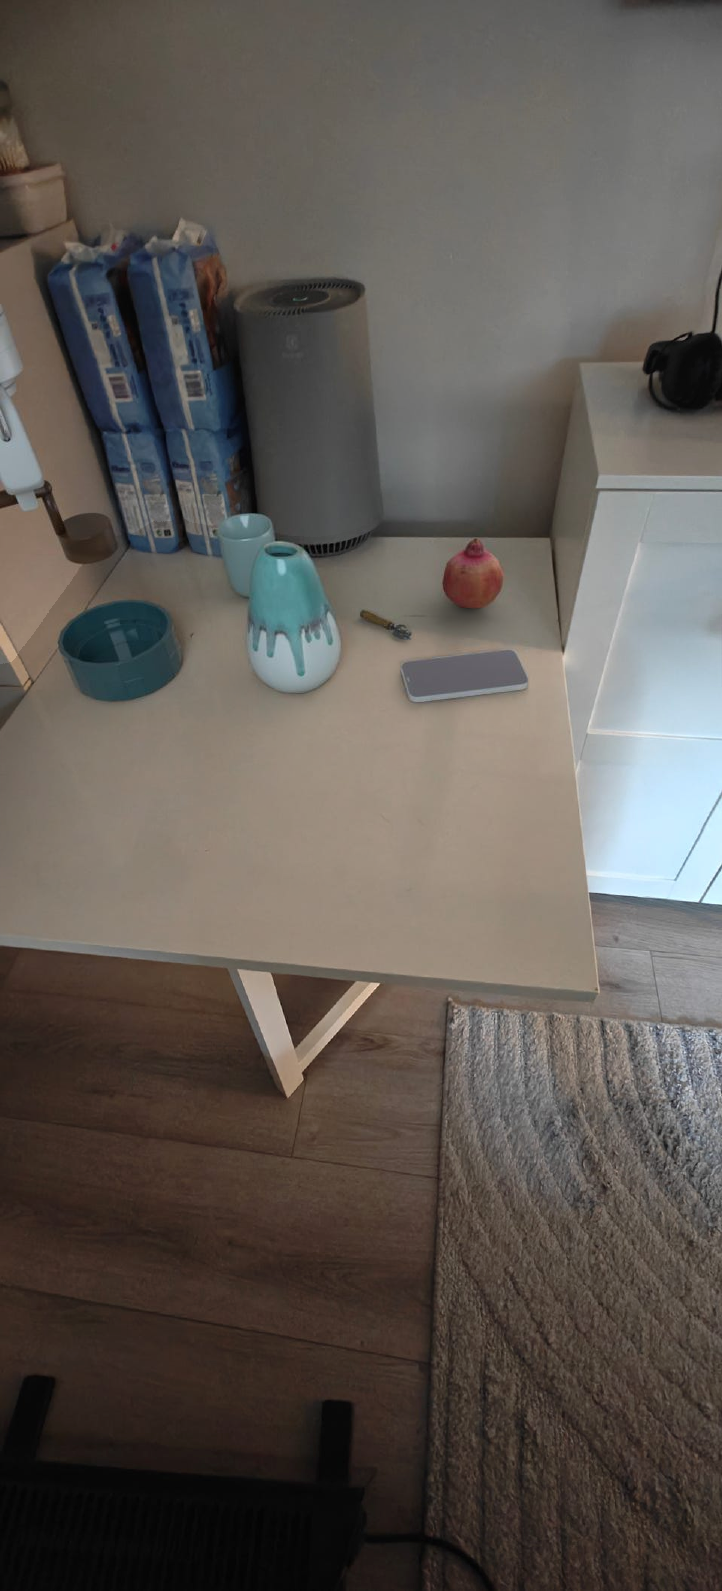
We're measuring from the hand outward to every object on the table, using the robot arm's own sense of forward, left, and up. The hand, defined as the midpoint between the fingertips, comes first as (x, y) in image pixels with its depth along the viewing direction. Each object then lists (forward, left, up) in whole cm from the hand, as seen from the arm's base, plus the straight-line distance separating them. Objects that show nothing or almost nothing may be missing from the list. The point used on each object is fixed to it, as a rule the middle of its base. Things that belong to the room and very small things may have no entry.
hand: (26, 501), depth 77 cm
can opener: (+27, -28, -24) cm, 46 cm away
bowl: (+4, -2, -24) cm, 25 cm away
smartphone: (+22, -42, -24) cm, 53 cm away
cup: (+27, -6, -24) cm, 37 cm away
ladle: (-1, +1, -7) cm, 7 cm away
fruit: (+37, -36, -24) cm, 57 cm away
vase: (+13, -23, -24) cm, 36 cm away
